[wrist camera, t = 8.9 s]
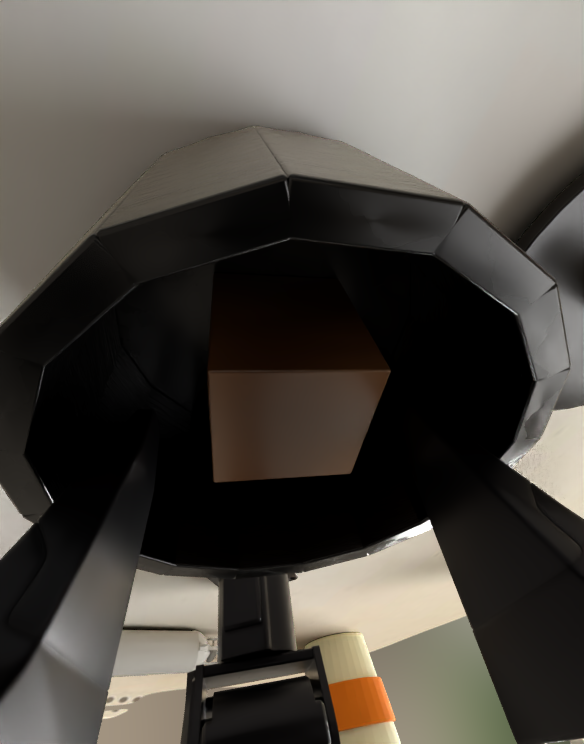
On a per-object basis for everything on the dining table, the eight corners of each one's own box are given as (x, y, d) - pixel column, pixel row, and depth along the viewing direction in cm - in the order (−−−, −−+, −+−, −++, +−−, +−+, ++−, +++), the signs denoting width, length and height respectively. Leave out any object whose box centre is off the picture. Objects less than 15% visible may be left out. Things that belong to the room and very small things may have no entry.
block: (339, 278, 12) (392, 370, 8) (318, 372, 15) (351, 474, 11) (213, 272, 11) (206, 371, 7) (216, 372, 14) (212, 483, 10)
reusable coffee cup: (310, 632, 45) (338, 814, 34) (389, 625, 49) (437, 785, 38) (281, 657, 53) (297, 814, 41) (352, 649, 57) (384, 790, 45)
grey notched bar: (46, 636, 32) (13, 737, 27) (60, 619, 30) (28, 725, 25) (217, 637, 41) (216, 714, 36) (237, 624, 38) (239, 703, 34)
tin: (421, 388, 17) (506, 521, 12) (188, 452, 18) (172, 606, 13) (431, 68, 9) (714, 44, 4) (-2, 202, 10) (-276, 344, 4)
